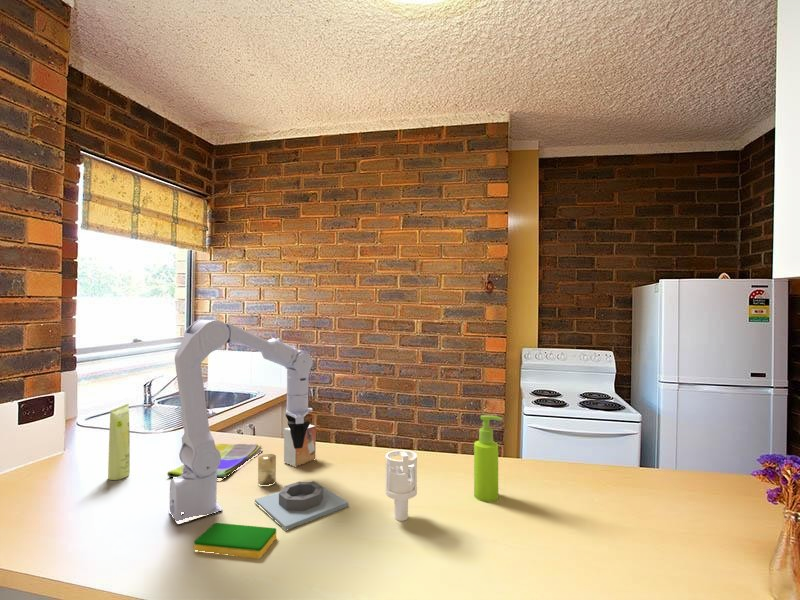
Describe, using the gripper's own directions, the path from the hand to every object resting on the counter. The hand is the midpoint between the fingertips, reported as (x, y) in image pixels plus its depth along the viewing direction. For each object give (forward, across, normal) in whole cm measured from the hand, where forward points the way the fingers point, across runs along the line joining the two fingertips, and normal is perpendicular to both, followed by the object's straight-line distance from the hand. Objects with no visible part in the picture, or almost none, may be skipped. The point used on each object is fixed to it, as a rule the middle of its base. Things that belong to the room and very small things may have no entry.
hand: (296, 443), depth 112 cm
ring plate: (+10, -15, 0) cm, 18 cm away
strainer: (+10, -28, -20) cm, 36 cm away
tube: (+10, +17, +46) cm, 51 cm away
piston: (+10, 0, +8) cm, 12 cm away
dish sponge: (+11, -28, +14) cm, 33 cm away
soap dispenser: (+10, -26, -44) cm, 52 cm away
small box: (+10, +13, -2) cm, 16 cm away
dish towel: (+11, +19, +21) cm, 31 cm away
